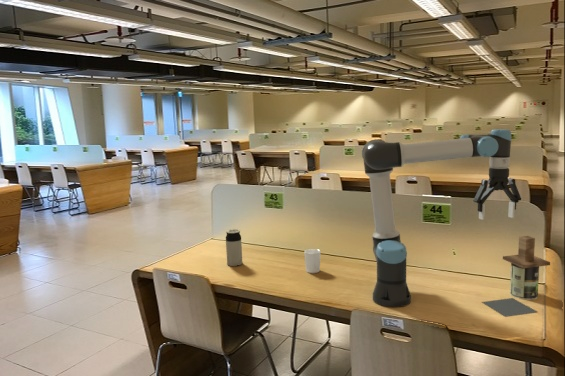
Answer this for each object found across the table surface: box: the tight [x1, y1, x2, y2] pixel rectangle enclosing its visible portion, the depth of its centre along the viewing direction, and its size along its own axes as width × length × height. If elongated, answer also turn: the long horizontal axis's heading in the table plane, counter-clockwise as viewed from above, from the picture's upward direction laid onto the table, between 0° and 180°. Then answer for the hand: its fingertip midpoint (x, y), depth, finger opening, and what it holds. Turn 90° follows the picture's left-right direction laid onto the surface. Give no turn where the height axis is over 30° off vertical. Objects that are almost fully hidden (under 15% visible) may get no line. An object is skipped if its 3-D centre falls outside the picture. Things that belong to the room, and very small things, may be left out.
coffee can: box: [509, 263, 540, 301], centre depth 187 cm, size 10×10×14 cm
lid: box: [502, 235, 551, 268], centre depth 186 cm, size 12×12×10 cm
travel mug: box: [225, 228, 243, 267], centre depth 241 cm, size 8×8×18 cm
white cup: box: [303, 248, 321, 274], centre depth 227 cm, size 8×8×10 cm
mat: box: [481, 297, 538, 318], centre depth 177 cm, size 14×14×1 cm
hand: (496, 218), depth 192 cm, fingers open, 13 cm apart
